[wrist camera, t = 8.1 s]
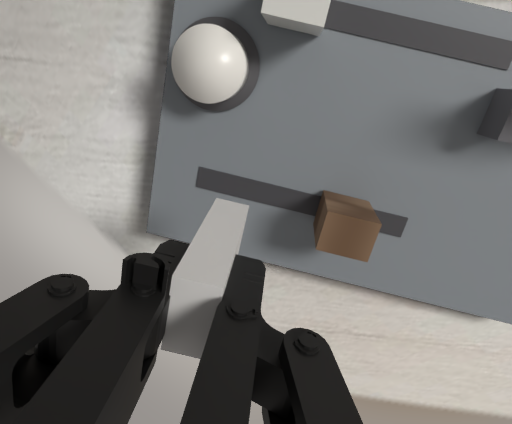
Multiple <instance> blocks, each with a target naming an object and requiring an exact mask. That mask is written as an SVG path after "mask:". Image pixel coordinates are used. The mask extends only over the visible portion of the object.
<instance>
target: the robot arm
mask: <svg viewBox="0 0 512 424" xmlns="http://www.w3.org/2000/svg"><path fill="white" fill-rule="evenodd" d="M248 209H249V205H245V204H240V203H236V202H232V201H228V200H224V199H219V198H216V200H215V201H214V203H213V205H212V207H211V208H210V210H209V212H208V214H207V215H206V217H205V219H204V221H203V222H202V224H201V226H200V228H199V229H198V231H197V233H196V235H195V237H194V238H193V240H192V242H191V244H187V243H183V242H179V241H174V240H168V241H166V242H164V243H162V244H160V245H159V247H158V248H157V249H156V251H155V253H154V254H151V253H136V254H132V255H129V256H127V257H126V258H125V259H123V265H122V276H121V284H120V286H119V287H118V288H117V289H116V290H103V291H101V290H89V285H88V283H87V281H86V280H85V279H83V278H82V277H80V276H77V275H73V274H59V275H53V276H50V277H47V278H45V279H43V280H41V281H39V282H37V283H35V284H33V285H32V286H30V287H28V288H26V289H24V290H23V291H21V292H19V293H17V294H16V295H14V296H12V297H10V298H9V299H7V300H5V301H3V302H1V303H0V424H128V421H129V419H130V417H131V415H132V412H133V410H134V408H135V406H136V404H137V402H138V400H139V397H140V395H141V393H142V391H143V389H144V386H145V384H146V382H147V380H148V377H149V375H150V373H151V371H152V369H153V367H154V364H155V361H156V355H157V349H158V347H159V345H160V343H161V341H162V346H161V349H162V350H165V351H170V352H174V353H178V354H182V355H186V356H191V357H195V358H199V359H200V363H199V366H198V369H197V372H196V375H195V379H194V382H193V385H192V388H191V391H190V395H189V398H188V401H187V404H186V407H185V411H184V414H183V417H182V420H181V423H180V424H248V423H249V415H250V407H251V400H252V401H253V402H255V403H257V404H259V405H260V406H262V415H263V421H264V424H363V422H362V420H361V418H360V415H359V413H358V411H357V409H356V406H355V404H354V402H353V399H352V397H351V395H350V392H349V390H348V388H347V385H346V383H345V381H344V378H343V376H342V374H341V372H340V369H339V367H338V365H337V362H336V360H335V358H334V355H333V353H332V351H331V348H330V346H329V345H328V343H327V342H326V340H325V339H324V338H323V337H321V336H320V335H319V334H317V333H315V332H313V331H311V330H309V329H304V328H293V329H291V330H289V331H287V332H286V334H283V333H281V332H279V331H277V330H275V329H274V328H272V327H271V326H270V325H268V324H267V323H266V322H265V320H264V319H263V317H262V315H261V302H262V294H263V286H264V278H265V271H266V268H265V266H264V264H263V262H262V261H261V260H258V259H254V258H250V257H246V256H242V255H238V253H239V248H240V244H241V240H242V235H243V231H244V226H245V222H246V218H247V213H248Z"/></svg>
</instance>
